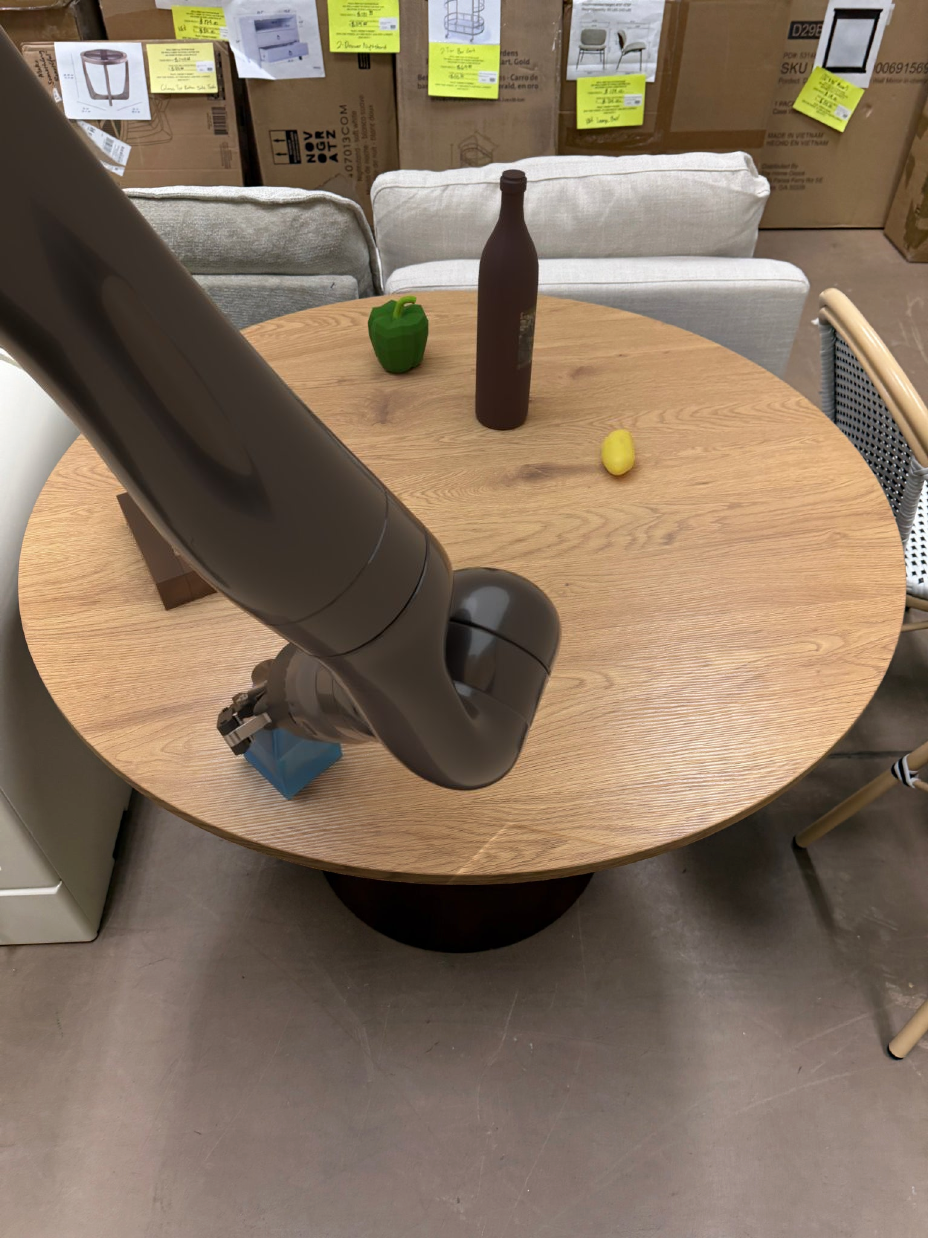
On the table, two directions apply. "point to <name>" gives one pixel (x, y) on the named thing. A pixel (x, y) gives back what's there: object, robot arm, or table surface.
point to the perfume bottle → (288, 752)
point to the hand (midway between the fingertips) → (265, 690)
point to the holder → (162, 560)
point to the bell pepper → (398, 334)
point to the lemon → (618, 452)
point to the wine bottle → (506, 312)
